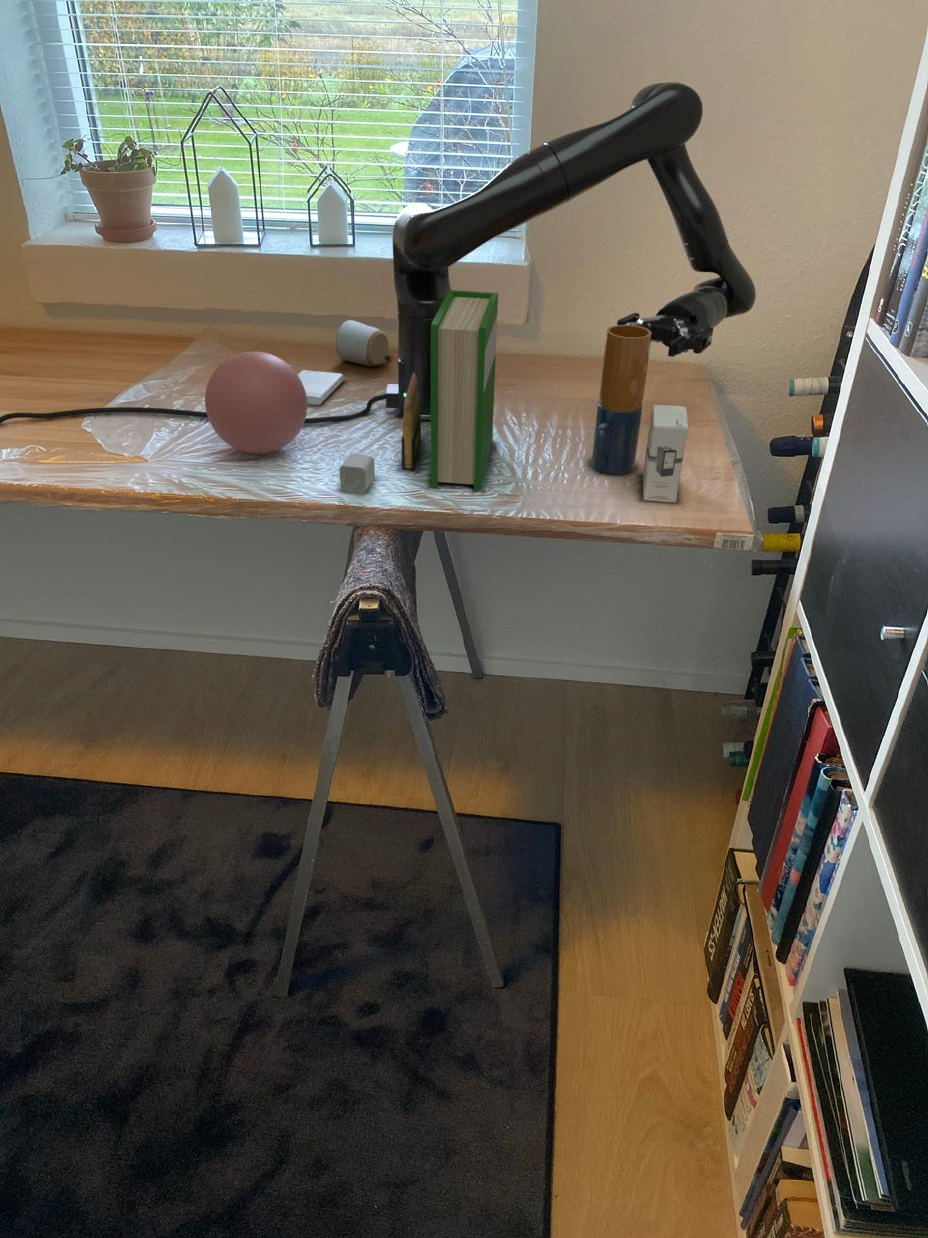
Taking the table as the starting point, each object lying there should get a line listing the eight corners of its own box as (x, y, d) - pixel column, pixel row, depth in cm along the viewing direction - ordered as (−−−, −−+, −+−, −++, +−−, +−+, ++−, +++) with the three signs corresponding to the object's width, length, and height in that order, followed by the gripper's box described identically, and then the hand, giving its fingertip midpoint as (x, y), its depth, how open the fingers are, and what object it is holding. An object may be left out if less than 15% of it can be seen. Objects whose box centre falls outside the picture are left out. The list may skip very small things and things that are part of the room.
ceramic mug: (369, 372, 179) (368, 331, 175) (335, 364, 183) (333, 324, 178) (400, 358, 187) (400, 319, 183) (367, 350, 190) (366, 312, 186)
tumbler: (602, 412, 138) (610, 337, 132) (596, 396, 143) (603, 324, 137) (645, 412, 138) (655, 338, 132) (637, 396, 143) (647, 324, 137)
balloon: (340, 429, 156) (335, 337, 147) (280, 476, 140) (270, 377, 132) (259, 415, 160) (250, 325, 152) (192, 460, 145) (177, 362, 136)
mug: (603, 453, 150) (610, 393, 144) (641, 463, 147) (649, 402, 141) (575, 474, 143) (581, 412, 138) (614, 485, 140) (621, 422, 135)
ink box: (641, 475, 143) (652, 402, 137) (674, 478, 143) (686, 404, 136) (642, 500, 136) (653, 424, 130) (676, 503, 136) (689, 427, 129)
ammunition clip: (414, 470, 143) (413, 395, 137) (402, 469, 143) (400, 394, 137) (420, 442, 152) (420, 370, 145) (409, 442, 152) (408, 370, 146)
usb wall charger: (375, 480, 140) (374, 456, 138) (361, 501, 134) (360, 475, 132) (349, 477, 141) (348, 453, 138) (335, 498, 135) (333, 472, 133)
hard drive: (301, 369, 175) (275, 391, 165) (343, 373, 174) (319, 396, 164) (302, 378, 176) (276, 400, 166) (343, 382, 175) (320, 405, 165)
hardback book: (480, 491, 138) (485, 327, 125) (430, 487, 139) (430, 324, 125) (492, 443, 152) (498, 292, 139) (447, 440, 153) (449, 289, 140)
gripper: (649, 288, 153) (604, 310, 142) (732, 303, 147) (692, 328, 136) (643, 334, 157) (599, 359, 146) (724, 350, 151) (685, 378, 140)
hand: (644, 344), depth 141 cm, fingers open, 8 cm apart
